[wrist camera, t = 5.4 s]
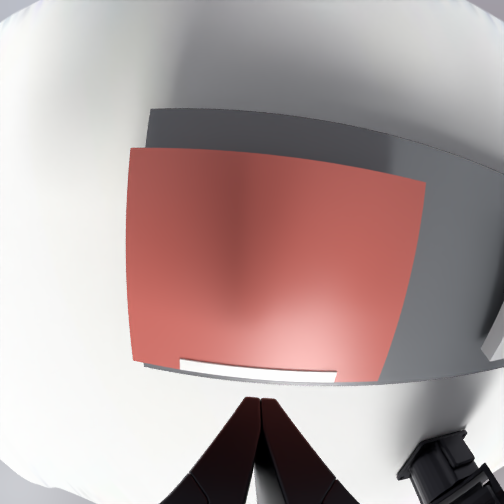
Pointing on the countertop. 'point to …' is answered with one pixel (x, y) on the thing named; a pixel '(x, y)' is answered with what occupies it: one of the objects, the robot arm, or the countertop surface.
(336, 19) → the countertop surface
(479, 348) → the switch box
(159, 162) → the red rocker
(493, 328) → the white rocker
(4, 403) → the countertop surface
